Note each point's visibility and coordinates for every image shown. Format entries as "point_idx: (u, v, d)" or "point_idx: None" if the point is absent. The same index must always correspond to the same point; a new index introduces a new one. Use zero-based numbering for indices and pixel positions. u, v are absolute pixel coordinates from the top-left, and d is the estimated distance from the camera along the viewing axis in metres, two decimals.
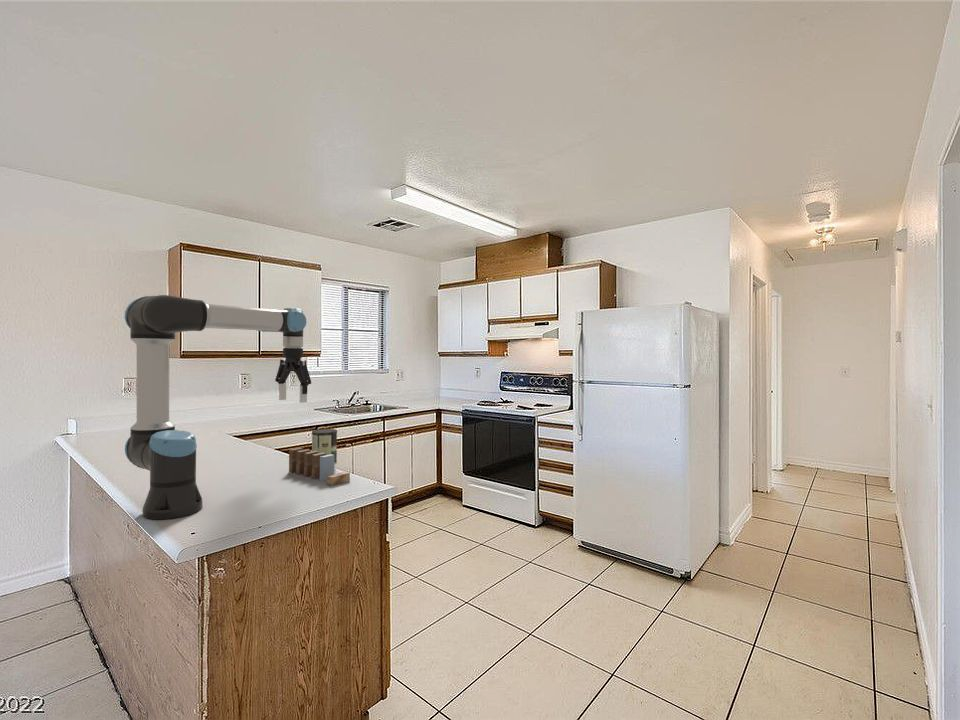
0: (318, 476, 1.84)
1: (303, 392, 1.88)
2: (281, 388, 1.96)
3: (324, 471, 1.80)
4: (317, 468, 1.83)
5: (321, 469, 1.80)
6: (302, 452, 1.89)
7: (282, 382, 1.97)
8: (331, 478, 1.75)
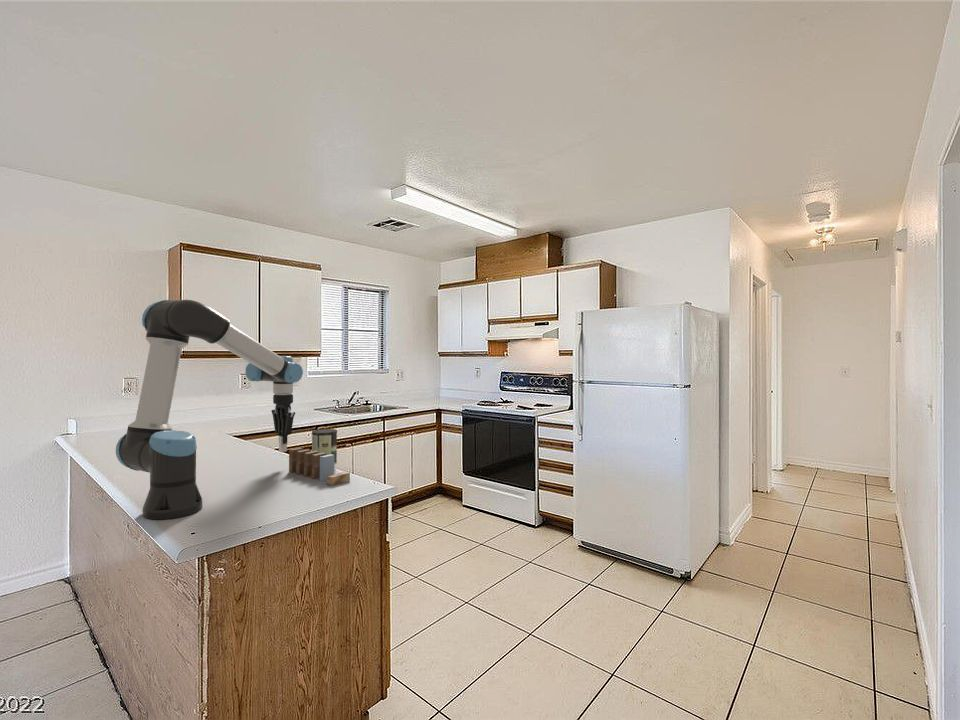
0: (318, 476, 1.84)
1: (283, 442, 1.97)
2: None
3: (324, 471, 1.80)
4: (317, 468, 1.83)
5: (321, 469, 1.80)
6: (302, 452, 1.89)
7: None
8: (331, 478, 1.75)
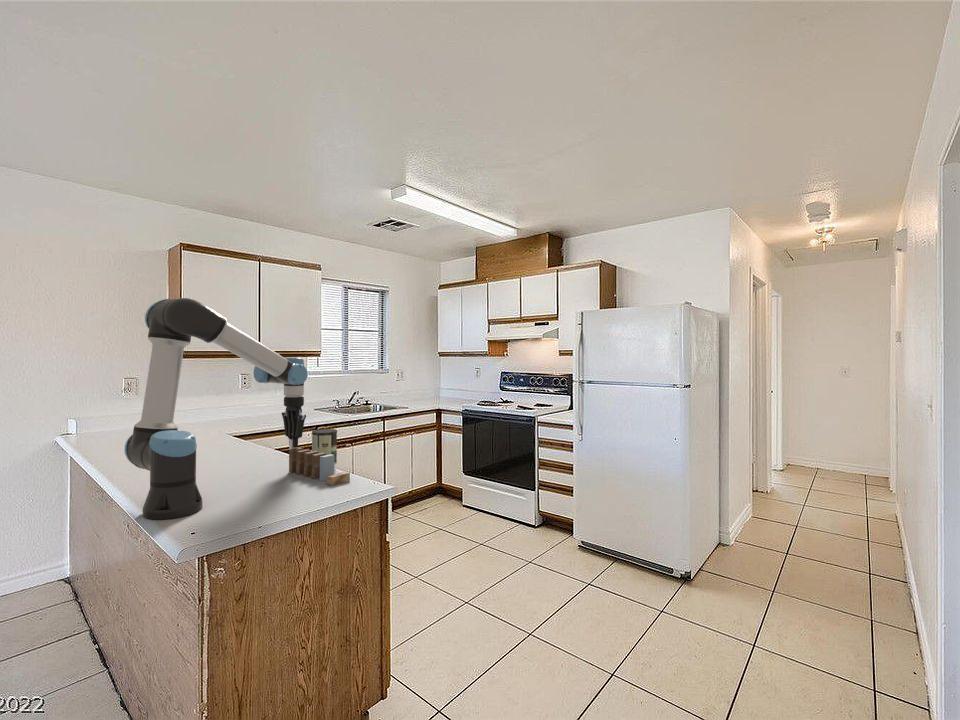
0: (318, 476, 1.84)
1: (294, 445, 1.93)
2: None
3: (324, 471, 1.80)
4: (317, 468, 1.83)
5: (321, 469, 1.80)
6: (302, 452, 1.89)
7: None
8: (331, 478, 1.75)
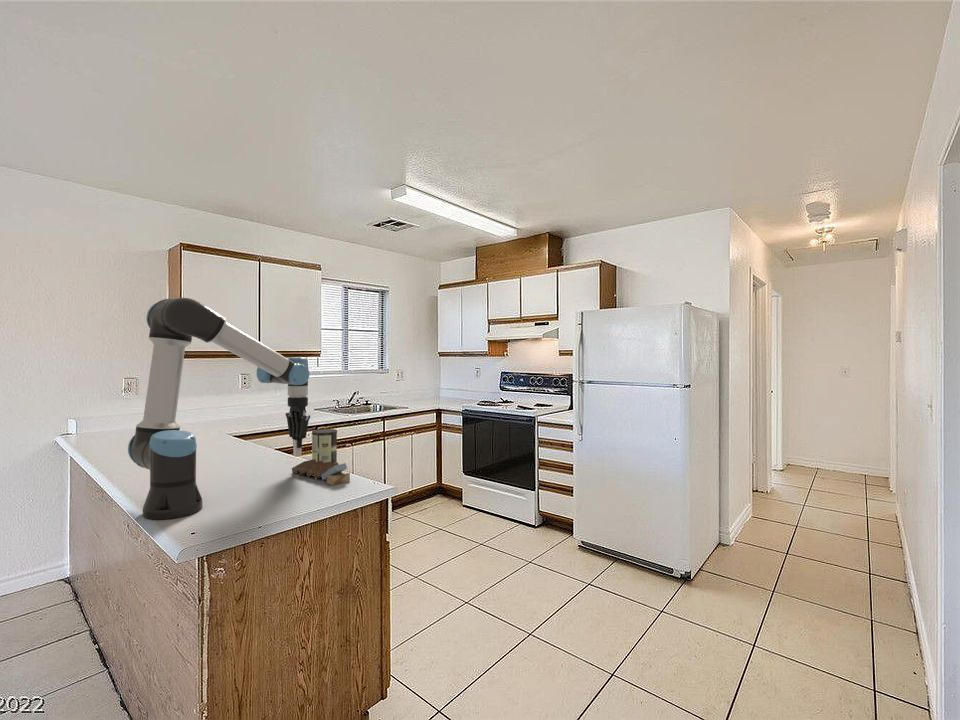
0: (319, 477, 1.83)
1: (298, 446, 1.91)
2: None
3: None
4: None
5: (328, 473, 1.78)
6: None
7: None
8: (331, 478, 1.75)
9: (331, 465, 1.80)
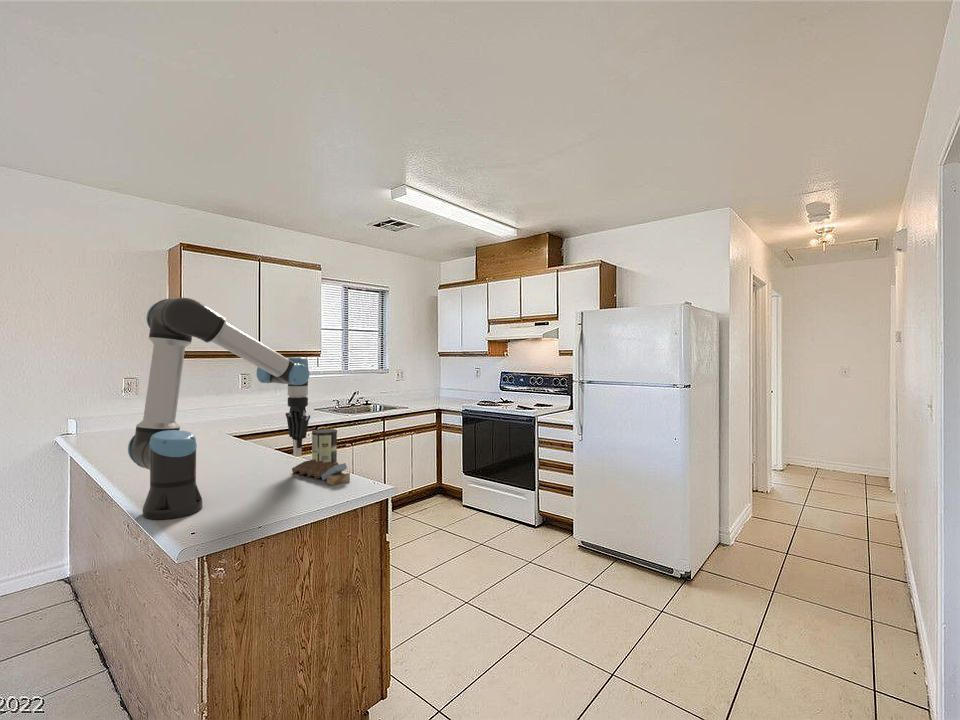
0: (319, 477, 1.83)
1: (298, 446, 1.91)
2: None
3: None
4: None
5: (328, 473, 1.78)
6: None
7: None
8: (331, 478, 1.75)
9: (331, 465, 1.80)
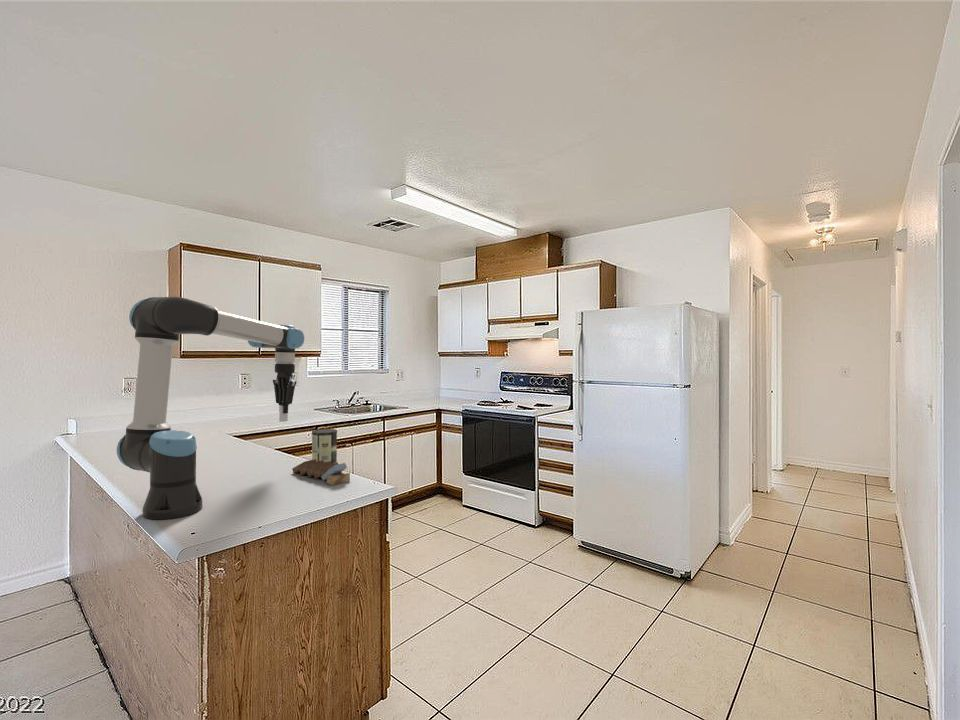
0: (319, 477, 1.83)
1: (284, 411, 1.96)
2: None
3: None
4: None
5: (328, 473, 1.78)
6: None
7: None
8: (331, 478, 1.75)
9: (331, 465, 1.80)
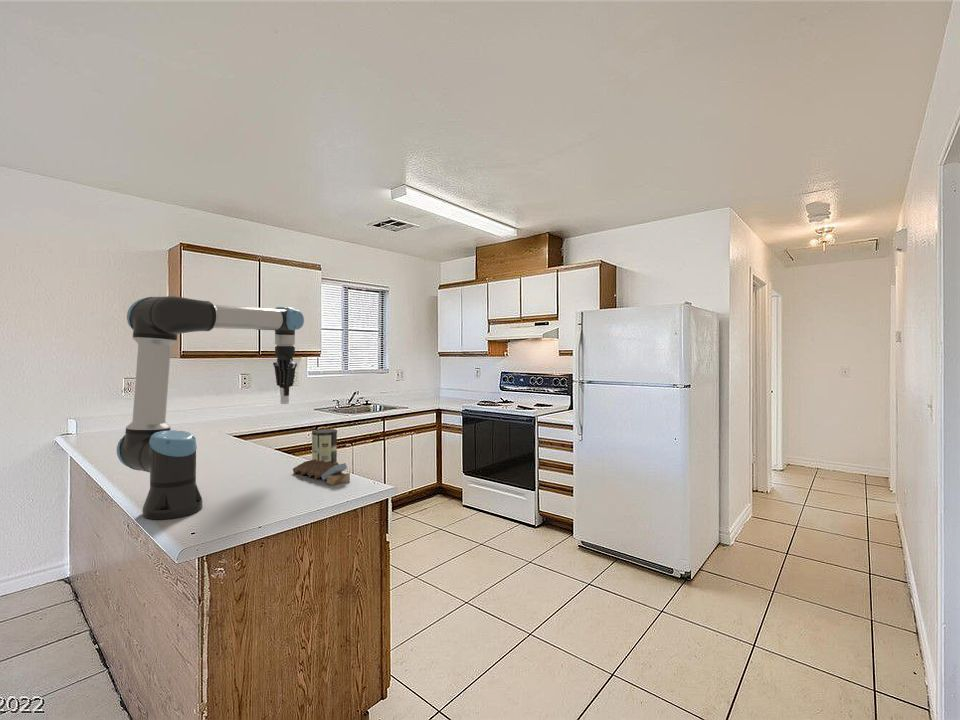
0: (319, 477, 1.83)
1: (285, 394, 1.96)
2: None
3: None
4: None
5: (328, 473, 1.78)
6: None
7: None
8: (331, 478, 1.75)
9: (331, 465, 1.80)
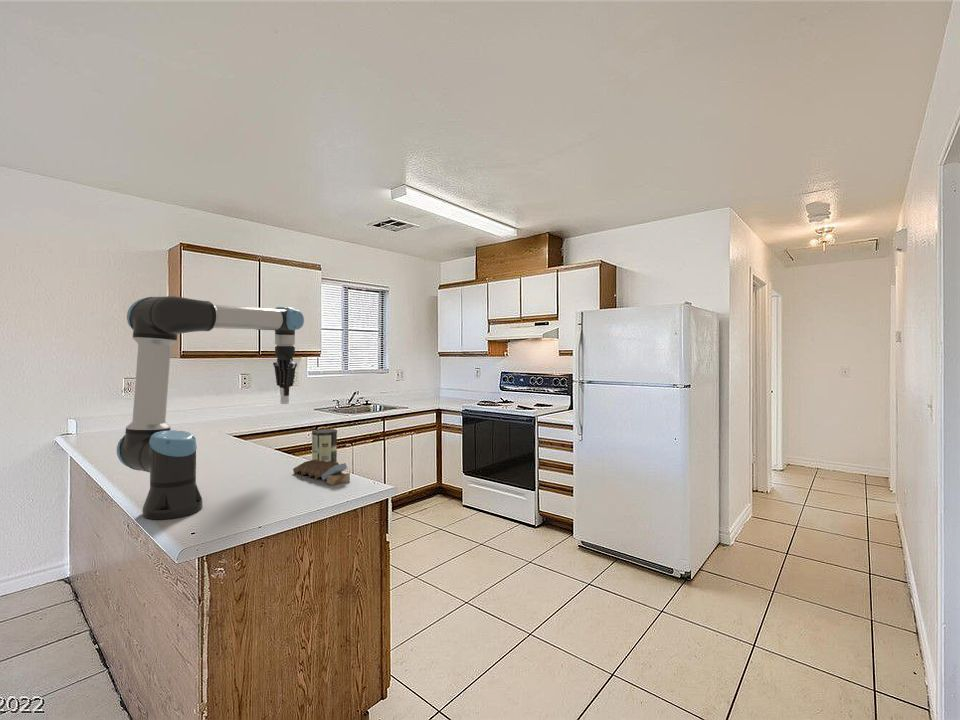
0: (320, 477, 1.83)
1: (285, 394, 1.96)
2: None
3: None
4: None
5: (328, 473, 1.78)
6: None
7: None
8: (331, 478, 1.75)
9: (331, 465, 1.80)
